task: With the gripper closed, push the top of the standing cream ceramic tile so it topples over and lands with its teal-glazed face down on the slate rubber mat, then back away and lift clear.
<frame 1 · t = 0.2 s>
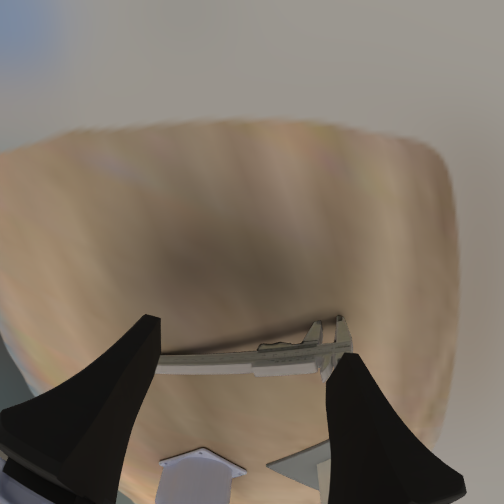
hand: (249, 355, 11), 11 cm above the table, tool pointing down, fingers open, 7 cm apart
caliper: (221, 344, 24), on the table
mat: (341, 466, 31), on the table
tile: (340, 458, 30), resting on mat
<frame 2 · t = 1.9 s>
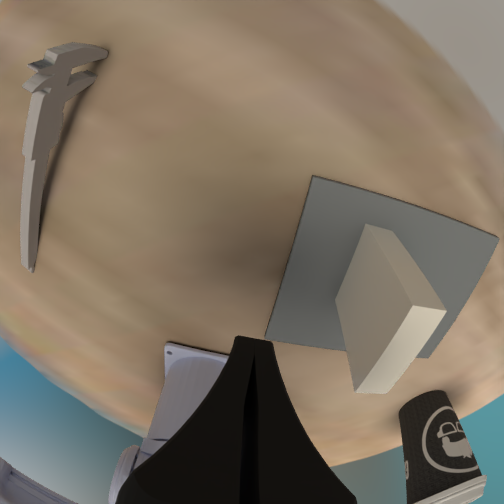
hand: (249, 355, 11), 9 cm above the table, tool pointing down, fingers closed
coffee cup: (422, 404, 29), on the table
caliper: (53, 176, 18), on the table
mat: (389, 288, 20), on the table
tile: (363, 267, 19), resting on mat
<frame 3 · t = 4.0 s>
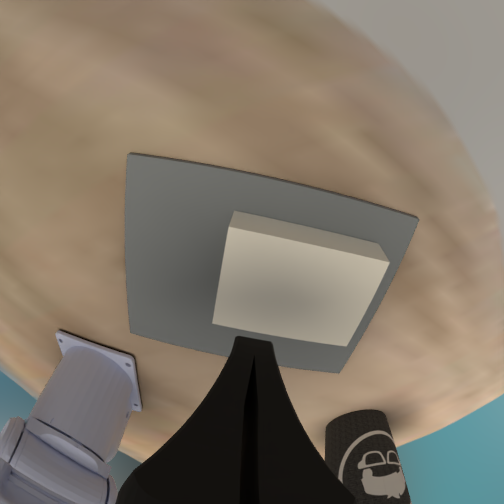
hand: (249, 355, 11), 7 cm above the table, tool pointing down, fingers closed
coffee cup: (355, 423, 26), on the table
mat: (254, 284, 18), on the table
tile: (222, 269, 16), point 1 cm above the table, tilted 90°, touching mat
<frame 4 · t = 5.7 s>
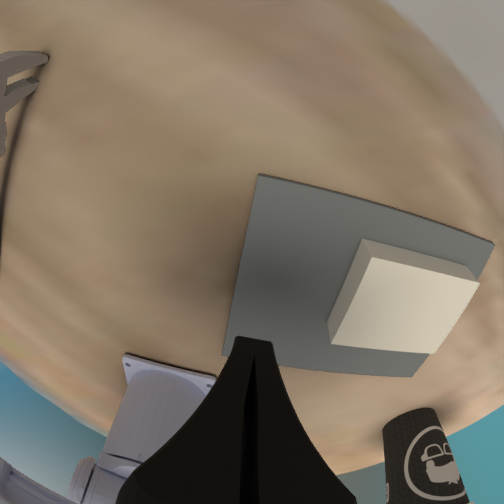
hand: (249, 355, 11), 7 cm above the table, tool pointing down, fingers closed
coffee cup: (408, 421, 26), on the table
caliper: (8, 185, 16), on the table
mat: (361, 303, 18), on the table
tile: (346, 293, 16), point 1 cm above the table, tilted 90°, touching mat
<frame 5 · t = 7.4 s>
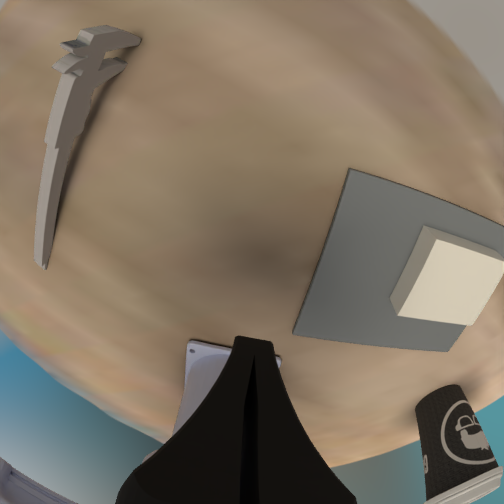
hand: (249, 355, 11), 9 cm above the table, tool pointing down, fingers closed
coffee cup: (438, 399, 28), on the table
caliper: (73, 168, 18), on the table
mat: (416, 282, 20), on the table
tile: (411, 271, 18), point 1 cm above the table, tilted 90°, touching mat
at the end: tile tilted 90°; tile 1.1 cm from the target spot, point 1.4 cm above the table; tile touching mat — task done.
